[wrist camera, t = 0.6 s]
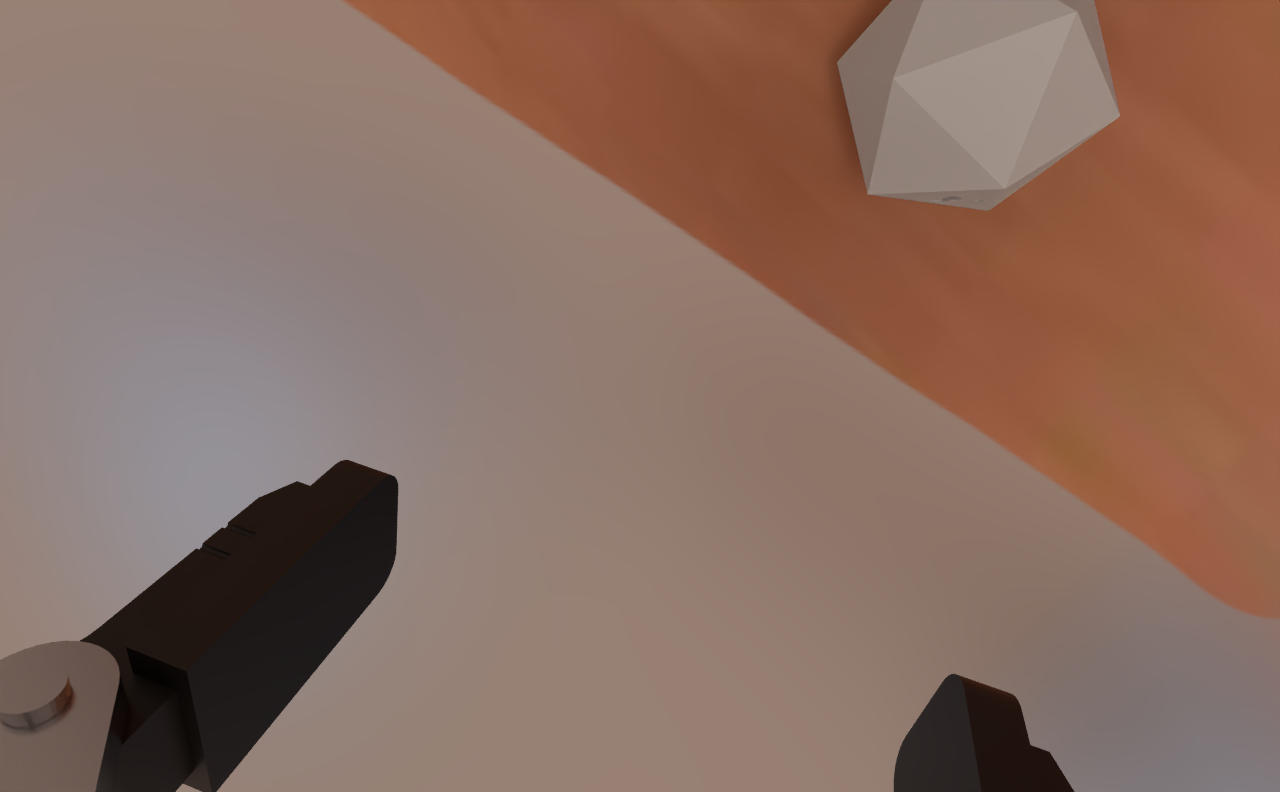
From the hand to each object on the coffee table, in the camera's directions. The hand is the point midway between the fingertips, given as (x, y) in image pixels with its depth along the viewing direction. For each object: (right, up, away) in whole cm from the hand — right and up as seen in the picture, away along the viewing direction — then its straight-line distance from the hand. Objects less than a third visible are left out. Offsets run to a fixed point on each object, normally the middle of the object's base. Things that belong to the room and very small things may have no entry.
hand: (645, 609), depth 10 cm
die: (+13, +16, +19) cm, 29 cm away
